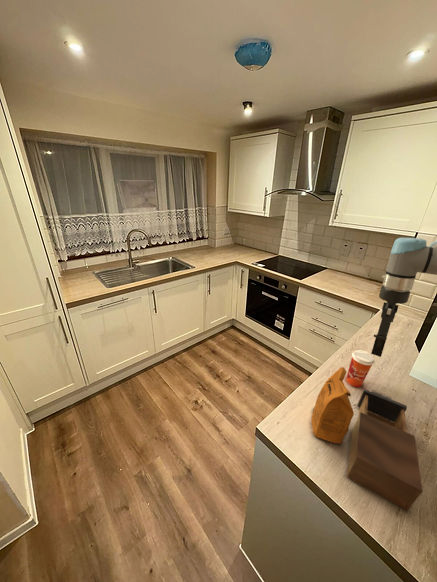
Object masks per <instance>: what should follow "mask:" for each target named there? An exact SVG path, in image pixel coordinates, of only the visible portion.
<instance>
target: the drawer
mask: <svg viewBox="0 0 437 582" xmlns="http://www.w3.org/2000/svg"><path fill="white" fill-rule="evenodd" d="M356 404H357V405H356V406H357V407H358V408H359V409H358V415H359V414H360V412H362V413H364V414H366V415H368V416H371V417H373V418H375V419H378V420H380V421H382V422H384V423H387V424H389V425H391V426H394V427H396V428H398V429H400V430H403V431H405V432H407V433H408V428H407V419H406V411H407V409H408V406H407V405H406V404H404V403H401V402H399V401H396V400H394V399H393V397H392V396H390V395H388V394H385V393H383V392H380V391H378V390H375V389H371V390H369V389H365V388H363V389H362V391H361V394H360V396H359V400H358V402H357V403H356Z"/></svg>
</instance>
